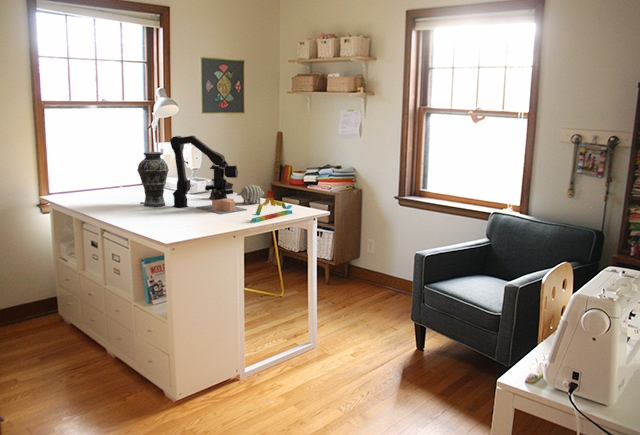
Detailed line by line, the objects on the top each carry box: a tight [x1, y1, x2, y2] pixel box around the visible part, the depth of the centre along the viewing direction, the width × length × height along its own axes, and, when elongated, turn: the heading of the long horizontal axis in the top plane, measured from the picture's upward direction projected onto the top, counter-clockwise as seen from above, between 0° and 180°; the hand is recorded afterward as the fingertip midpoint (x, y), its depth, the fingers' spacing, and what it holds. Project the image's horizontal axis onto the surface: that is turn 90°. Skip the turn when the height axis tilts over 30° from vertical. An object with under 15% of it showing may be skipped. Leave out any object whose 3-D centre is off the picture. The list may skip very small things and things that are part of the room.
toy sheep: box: [236, 184, 265, 205], centre depth 354 cm, size 11×17×11 cm, turn 123°
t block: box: [211, 197, 236, 211], centre depth 332 cm, size 12×10×5 cm
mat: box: [196, 204, 248, 215], centre depth 336 cm, size 18×23×1 cm
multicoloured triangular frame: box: [251, 189, 293, 223], centre depth 316 cm, size 30×3×15 cm, turn 146°
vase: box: [137, 151, 169, 208], centre depth 339 cm, size 17×17×30 cm
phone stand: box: [209, 181, 228, 201], centre depth 366 cm, size 9×6×12 cm, turn 137°
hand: (219, 204), depth 337 cm, fingers closed
